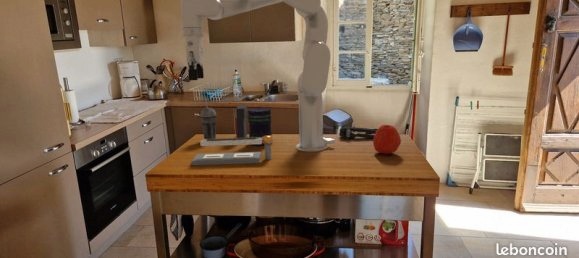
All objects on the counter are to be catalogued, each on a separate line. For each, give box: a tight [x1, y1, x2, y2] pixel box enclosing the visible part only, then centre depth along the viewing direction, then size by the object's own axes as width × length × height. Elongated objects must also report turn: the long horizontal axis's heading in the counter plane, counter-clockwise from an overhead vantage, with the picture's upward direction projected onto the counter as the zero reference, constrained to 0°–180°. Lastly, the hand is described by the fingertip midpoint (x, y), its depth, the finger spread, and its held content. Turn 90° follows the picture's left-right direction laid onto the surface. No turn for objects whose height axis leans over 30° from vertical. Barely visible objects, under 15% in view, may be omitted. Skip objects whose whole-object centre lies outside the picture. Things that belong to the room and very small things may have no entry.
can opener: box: [339, 125, 377, 140], centre depth 172 cm, size 18×7×6 cm, turn 84°
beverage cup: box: [199, 97, 218, 139], centre depth 172 cm, size 7×7×20 cm
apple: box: [372, 124, 402, 154], centre depth 149 cm, size 10×10×10 cm
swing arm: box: [199, 135, 273, 147], centre depth 143 cm, size 26×4×2 cm, turn 91°
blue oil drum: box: [247, 107, 273, 148], centre depth 166 cm, size 10×10×15 cm
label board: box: [191, 143, 272, 166], centre depth 144 cm, size 28×10×6 cm, turn 91°
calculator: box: [235, 104, 248, 138], centre depth 176 cm, size 11×4×15 cm, turn 0°
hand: (196, 79), depth 149 cm, fingers open, 9 cm apart
